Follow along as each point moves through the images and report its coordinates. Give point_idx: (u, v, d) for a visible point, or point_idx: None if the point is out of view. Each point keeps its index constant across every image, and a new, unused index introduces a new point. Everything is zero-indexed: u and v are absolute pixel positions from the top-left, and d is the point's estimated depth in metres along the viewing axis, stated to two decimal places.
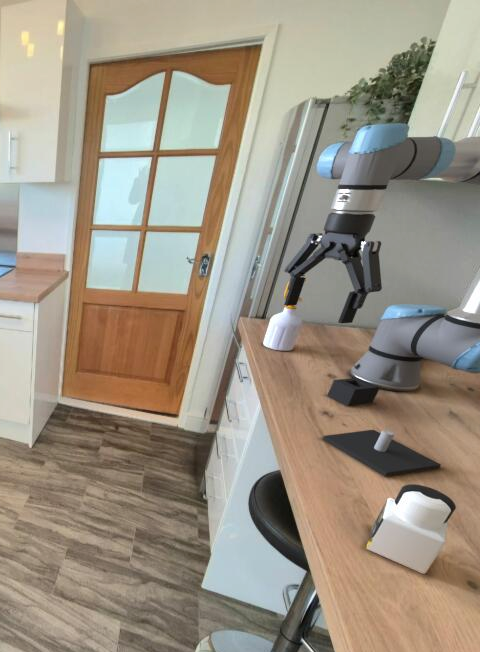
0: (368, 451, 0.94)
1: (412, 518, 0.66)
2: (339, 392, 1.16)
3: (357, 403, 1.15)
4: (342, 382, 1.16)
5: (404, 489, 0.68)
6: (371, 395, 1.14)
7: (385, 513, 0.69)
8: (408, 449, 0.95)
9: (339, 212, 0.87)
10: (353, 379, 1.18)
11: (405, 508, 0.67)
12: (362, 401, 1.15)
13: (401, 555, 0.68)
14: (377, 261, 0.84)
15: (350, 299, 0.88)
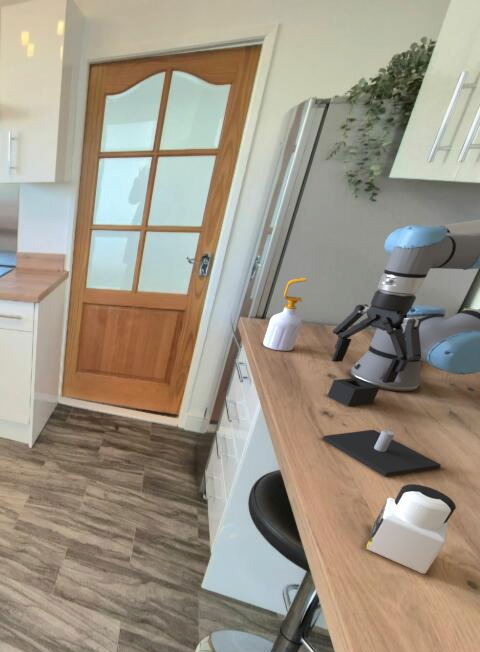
0: (368, 451, 0.94)
1: (412, 518, 0.66)
2: (339, 392, 1.16)
3: (357, 403, 1.15)
4: (342, 382, 1.16)
5: (404, 489, 0.68)
6: (371, 395, 1.14)
7: (385, 513, 0.69)
8: (408, 449, 0.95)
9: (385, 292, 1.04)
10: (353, 379, 1.18)
11: (405, 508, 0.67)
12: (362, 401, 1.15)
13: (401, 555, 0.68)
14: (417, 335, 1.02)
15: (393, 364, 1.05)
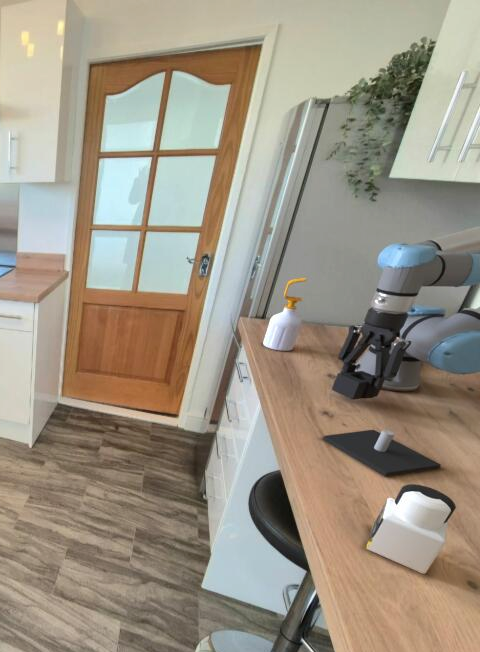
0: (368, 451, 0.94)
1: (412, 518, 0.66)
2: (343, 385, 1.16)
3: None
4: (346, 375, 1.15)
5: (404, 489, 0.68)
6: None
7: (385, 513, 0.69)
8: (408, 449, 0.95)
9: (378, 310, 1.06)
10: (357, 372, 1.17)
11: (405, 508, 0.67)
12: None
13: (401, 555, 0.68)
14: (402, 356, 1.06)
15: (371, 381, 1.11)
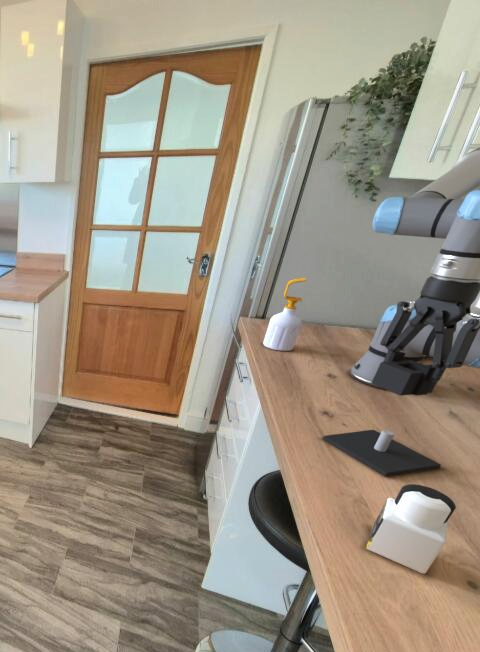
0: (368, 451, 0.94)
1: (412, 518, 0.66)
2: (388, 378, 0.90)
3: (412, 392, 0.88)
4: (392, 365, 0.90)
5: (404, 489, 0.68)
6: None
7: (385, 513, 0.69)
8: (408, 449, 0.95)
9: (442, 278, 0.81)
10: (406, 362, 0.92)
11: (405, 508, 0.67)
12: None
13: (401, 555, 0.68)
14: (472, 339, 0.80)
15: (427, 372, 0.86)
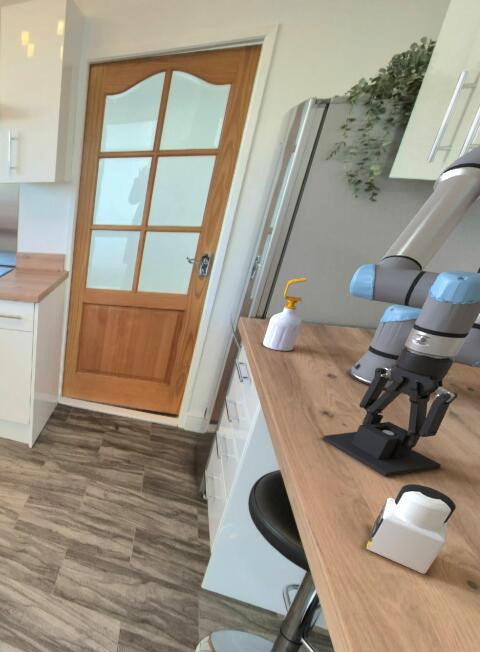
0: None
1: (412, 518, 0.66)
2: (367, 441, 0.94)
3: None
4: (371, 428, 0.93)
5: (404, 489, 0.68)
6: None
7: (385, 513, 0.69)
8: None
9: (415, 352, 0.84)
10: (384, 424, 0.95)
11: (405, 508, 0.67)
12: None
13: (401, 555, 0.68)
14: (444, 411, 0.84)
15: (403, 438, 0.89)
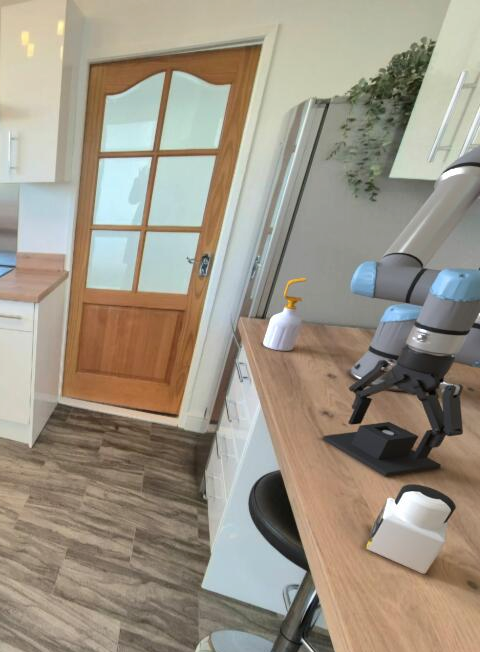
0: None
1: (412, 518, 0.66)
2: (367, 441, 0.94)
3: (390, 456, 0.92)
4: (370, 429, 0.93)
5: (404, 489, 0.68)
6: (407, 445, 0.92)
7: (385, 513, 0.69)
8: None
9: (417, 350, 0.84)
10: (384, 424, 0.95)
11: (405, 508, 0.67)
12: (396, 453, 0.92)
13: (401, 555, 0.68)
14: (458, 405, 0.82)
15: (427, 438, 0.85)
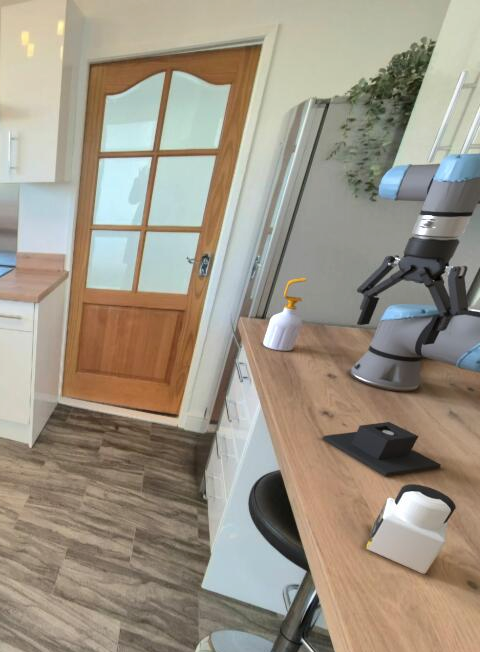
0: None
1: (412, 518, 0.66)
2: (367, 441, 0.94)
3: (390, 456, 0.92)
4: (370, 429, 0.93)
5: (404, 489, 0.68)
6: (407, 445, 0.92)
7: (384, 513, 0.69)
8: None
9: (423, 237, 0.89)
10: (384, 424, 0.95)
11: (405, 508, 0.67)
12: (396, 453, 0.92)
13: (401, 555, 0.68)
14: (463, 285, 0.86)
15: (434, 322, 0.90)
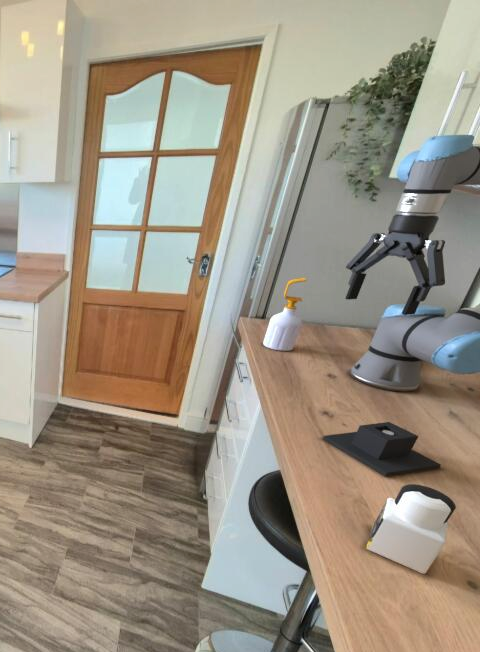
0: None
1: (412, 518, 0.66)
2: (367, 441, 0.94)
3: (390, 456, 0.92)
4: (370, 429, 0.93)
5: (404, 489, 0.68)
6: (407, 445, 0.92)
7: (385, 513, 0.69)
8: None
9: (405, 214, 0.96)
10: (384, 424, 0.95)
11: (405, 508, 0.67)
12: (396, 453, 0.92)
13: (401, 555, 0.68)
14: (441, 258, 0.93)
15: (414, 292, 0.97)
